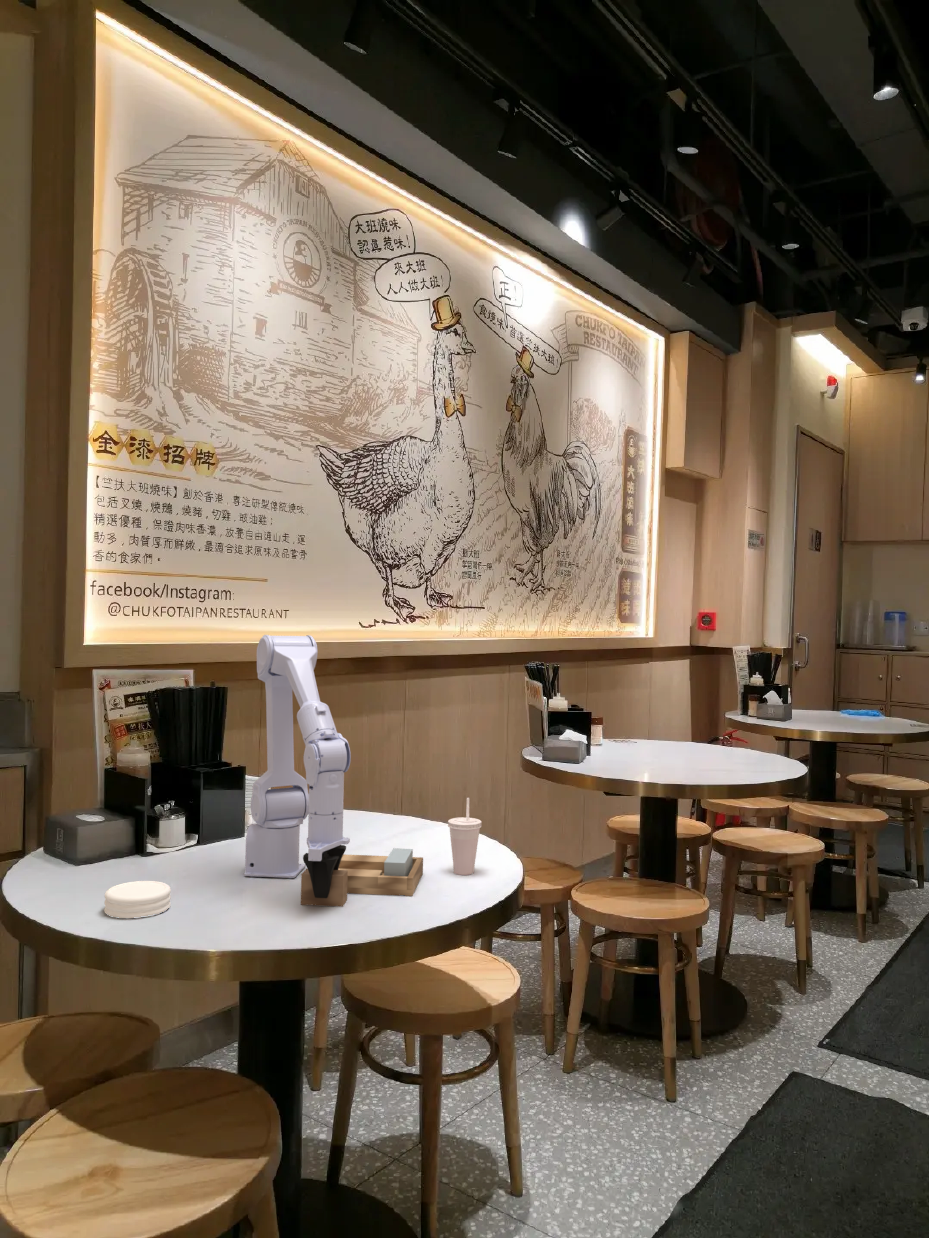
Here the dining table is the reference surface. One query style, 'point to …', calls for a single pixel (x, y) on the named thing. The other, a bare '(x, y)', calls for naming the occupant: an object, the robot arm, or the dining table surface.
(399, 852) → the grey square post
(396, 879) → the jig
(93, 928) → the dining table surface
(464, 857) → the smoothie
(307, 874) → the brown wooden block
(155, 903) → the coaster
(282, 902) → the dining table surface
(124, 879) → the dining table surface
